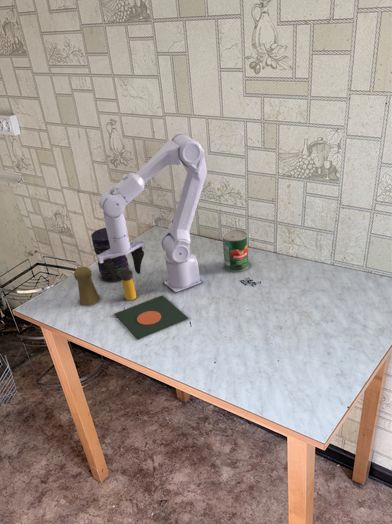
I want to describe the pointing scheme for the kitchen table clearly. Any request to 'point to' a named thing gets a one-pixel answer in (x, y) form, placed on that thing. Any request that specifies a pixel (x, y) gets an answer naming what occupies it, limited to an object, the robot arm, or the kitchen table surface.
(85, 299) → the olive pawn
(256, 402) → the kitchen table surface
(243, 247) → the canned tomato
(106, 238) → the storage jar
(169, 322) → the mat
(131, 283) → the glue stick
